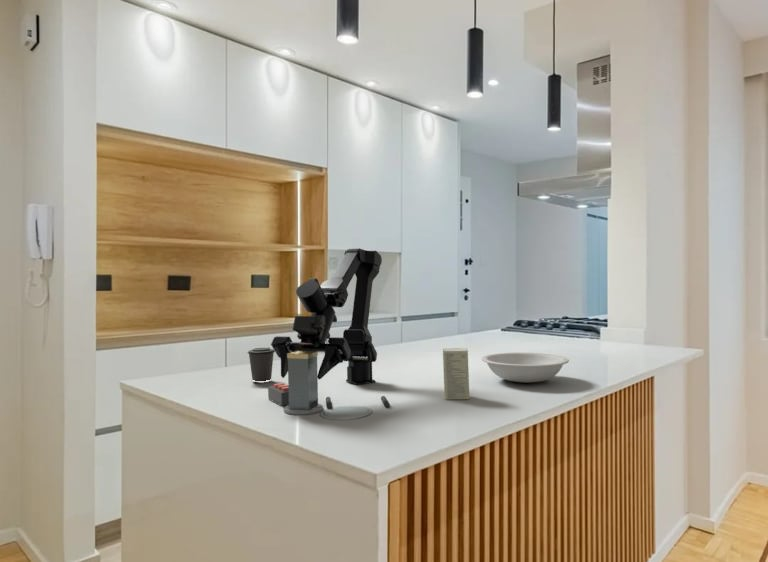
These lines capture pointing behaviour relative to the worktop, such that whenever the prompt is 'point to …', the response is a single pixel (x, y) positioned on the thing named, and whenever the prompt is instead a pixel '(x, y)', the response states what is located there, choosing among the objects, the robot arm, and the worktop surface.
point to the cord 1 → (328, 402)
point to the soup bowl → (525, 366)
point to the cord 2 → (385, 401)
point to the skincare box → (456, 373)
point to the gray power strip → (279, 393)
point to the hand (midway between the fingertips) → (300, 377)
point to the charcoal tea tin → (302, 380)
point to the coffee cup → (261, 363)
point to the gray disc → (303, 412)
